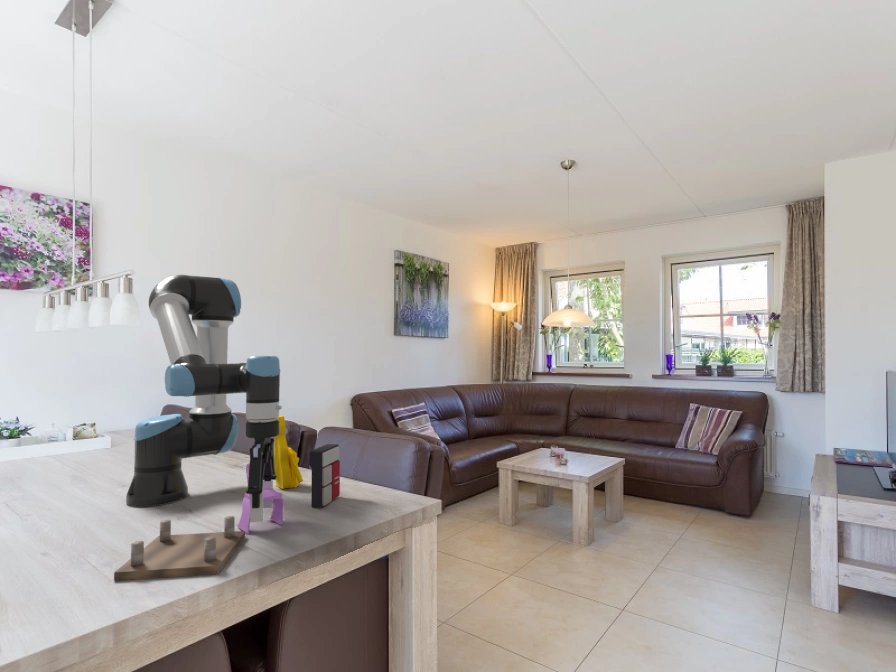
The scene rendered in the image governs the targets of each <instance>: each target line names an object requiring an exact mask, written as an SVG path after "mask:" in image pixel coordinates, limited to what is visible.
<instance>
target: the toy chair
mask: <svg viewBox="0 0 896 672" xmlns="http://www.w3.org/2000/svg"><path fill="white" fill-rule="evenodd" d="M249 466H250V462H249V463H247V464H246V466H245V474H246V480H247V483H248V480H249ZM262 492H263V502H264V501H267V500H271V499H273V509H272V512H271V516H270V517H269V519H270V520H272V521H273V522H275V523H277V524H278V525H281V526H282V525H283V524H284V523H283V522H284V521H283V520H284V501H285V500H284V498H283V494H282V493H281V492H279V491H276V490H274V488H273V489H271V488H270V489H265V490H262ZM241 506H242V507H241V508H242V509H241V516H240V519H239V522H238V524H237V528H238V529H240V531H245V534H250V527H251V526H250V525H251V522H250V494H246V493H244V497H243V499H242V505H241Z"/></svg>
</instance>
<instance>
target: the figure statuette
mask: <svg viewBox="0 0 896 672" xmlns="http://www.w3.org/2000/svg"><path fill="white" fill-rule="evenodd" d="M276 419H277V420H278V421H279V434H278V435H277V436H275V437H274V466H275V475H273V476H276V480H274V481H275V485H276V486H277V487H278V488H280V489H282V490H284V489H288V488H290V489H291V488H298V487H297V486H299V484H300V483H302V482H304V479H303V477H302V474H301V471H300V469H299V465H298V463H299V460H300V457H298V453H297V452H296V451H295V450H294V449H293V448H292V447H289V446H288V442H287V439H286V421H285V420H286V419H285V416H284V415H279V417H278V418H276Z"/></svg>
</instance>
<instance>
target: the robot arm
mask: <svg viewBox="0 0 896 672" xmlns="http://www.w3.org/2000/svg"><path fill="white" fill-rule="evenodd" d="M148 308H149V311H150V314H151V316H152V317H153V318H154V319H155V320H156V321H157V322H158V327H159V330H160V333H161V336H162V339H163V343H164V346H165V349H166V353H167V356H168V359H169V363H170V364H169V365H168V366H167V367H166V369H165V373H164V385H165V386H164V388H165V391H166V393H167V395H169V396H170V397H184V398H185V397H186V398H187V397H188V398H189V397H195V400H194V401H195V402H194V406H193V407H191V409H190V410H189V412H188V414H189V415H188V418H187V417H186V418H184V417H183V415H182V414H180V413H173V414H164V415H158V416H153V417H149V418H146V419H142V420H141V421H139V422H138V423H136V425H135V430H134V437H133V441H134V463H133V465H134V466H133V469H134V470H133V472H134V473H133V477H132V479H131V482H130V484H129V487H128V490H127V493H126V495H125V497H126V499H125V502H126V505H127V506H131V507H153V506H154V507H155V506H160V505H166V504H167V505H168V504H171V503H174V502H175V503H176V502H178V501H181V500H184V499H185V498H187V497H188V494H189V486H188V483H187V481H186V478H185V475H184V472H183V469H182V462H183V461H182V459H189V458H195V457H203V456H210V455H211V456H217V455H219V454H222V453H223V454H224V453H227V452H230V451H231V450H232V449H233V447H234V446H235V444H236V442H237V439H238V434H239V423H238V422H239V421H238V417H237V416H236V415H235V414H233V413H232V409H231V407H229V406H228V404H227V394H228V395H229V394H232V395H233V394H246V395H245V420H247V421H246V423H245V437H247V438H249V439H254V442H253V443H254V444H253V445H252V446H251V447H250V448H249V463H250V466H249V480H248V482H247V490H246V491H245V492H246V494H250V523H259V522H260V523H262V522H264V509H272V508H274V501H273V499H271V500H267V501H264V502H263V492H262V490H265V489H270V488H271V489H273V490H274V481H275V480H276V476H274V475H275V466H274V443H275V436H277V435H278V434H279V421H278V420H277V419H276V418H278V417H279V416H280V410H281V409H282V408H283V407H282V405H280V380H281V378H280V377H281V367H280V358H279V356H277V355H250V356H248V357H247V359H246V362H240V363H228V349H229V347H228V345H229V344H228V343H229V340H228V339H229V338H228V336H229V327H231V325H232V324H233V323H234V318H236V317H238V316H240V313H241V309H242V296H241V293H240V290H239V287H238V286H237V283H235V282H234V281H233V280H231V279H226V278H221V277H210V276H199V275H188V274H175V275H172V276H168V277H166V278H164V279H162V280H161V281H159V282H158V283H157V284H156V285H155V286H154V287H153V288H152V290H151V292H150V294H149V297H148ZM190 316H191V318H190ZM193 324H194V325H195V326H196V331H195V328H194V326H193Z"/></svg>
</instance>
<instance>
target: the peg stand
mask: <svg viewBox="0 0 896 672" xmlns="http://www.w3.org/2000/svg"><path fill="white" fill-rule="evenodd" d="M235 519H236V518H235V516H234V515H233V516H232V515H231V516H226V517H224V531H218V532H202V533H199V532H198V533H183V534H182V533H181V534H171V533H172V531H171V529H172V527H171V525H172V522H171V521H172V520H171V519H163V520H160V522H159V535H158V536H156V537H155V538H154V539H153V540H152V541H150V543H148V544H147V545H146V546H145V544H144V543H145V541H144V540H136V541H133V542H131V544H130V559H129V560H127V561H126V562H124V564H122V565H121V566H120V567H118V568H117V569H116V570H115V571H114V572H113V581H114V580H118V581H128V580H129V581H131V580H130V579H133V580H146V579H159V578H176V577H178V578H179V577H189V576H192V577H193V576H205V575H219V574H220V573H221V572H222V570H223V569H224V567H225V566H226V564H227V563H228V562H229V560H230V559H231V558H232V556H233V555H234V554H235V553H236V552H237V550H238V548H239V547H240V545H241V544H242V543H243V541H244V540H245V539H246V532H245V531H243V530H239V531H237V530H236V531H235V526H236V525H235V521H236V520H235Z"/></svg>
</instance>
